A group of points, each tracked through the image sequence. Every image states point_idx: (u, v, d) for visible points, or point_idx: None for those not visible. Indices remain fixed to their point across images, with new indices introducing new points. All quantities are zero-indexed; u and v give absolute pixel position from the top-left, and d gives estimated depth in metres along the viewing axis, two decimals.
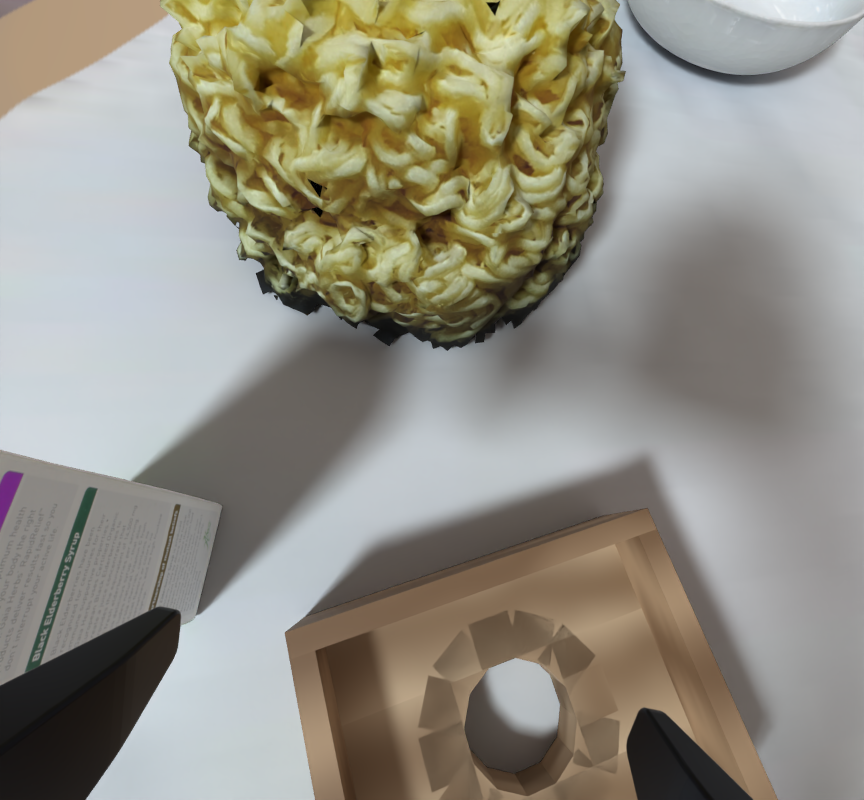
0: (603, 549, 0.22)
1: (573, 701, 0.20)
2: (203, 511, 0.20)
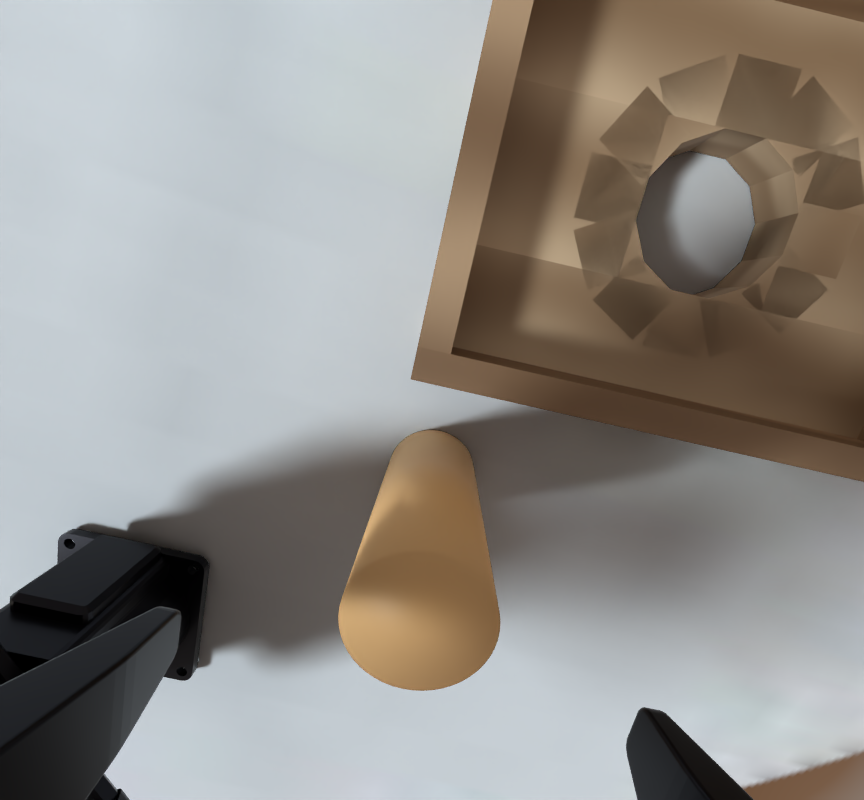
0: None
1: (794, 234, 0.14)
2: None
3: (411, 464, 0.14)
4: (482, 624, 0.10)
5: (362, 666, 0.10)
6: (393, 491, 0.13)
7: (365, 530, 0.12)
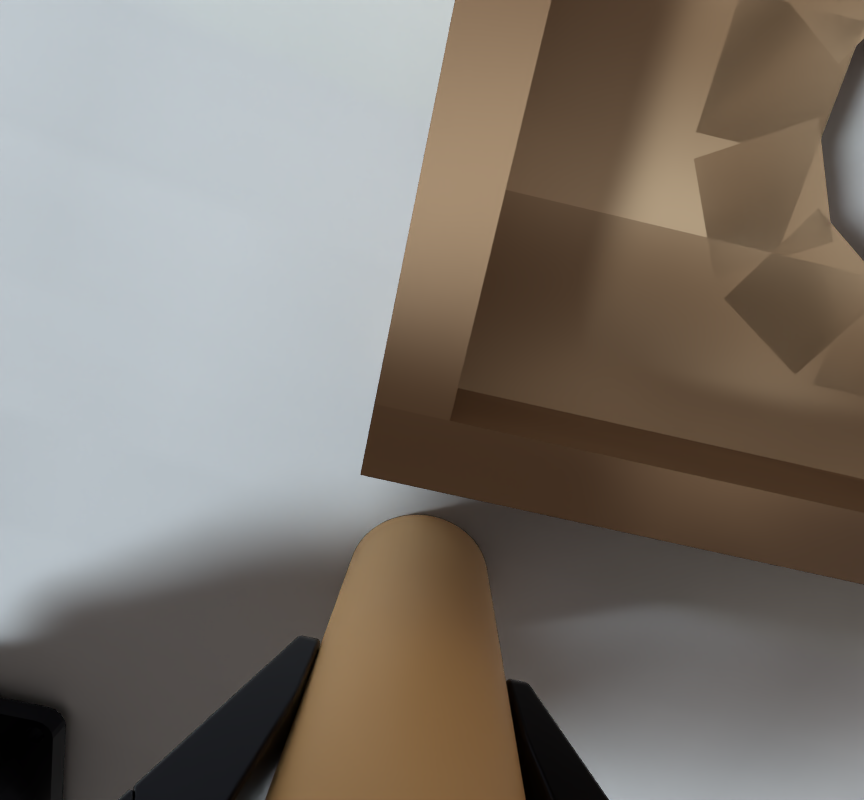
0: None
1: None
2: None
3: (372, 625, 0.07)
4: None
5: None
6: (320, 734, 0.06)
7: None
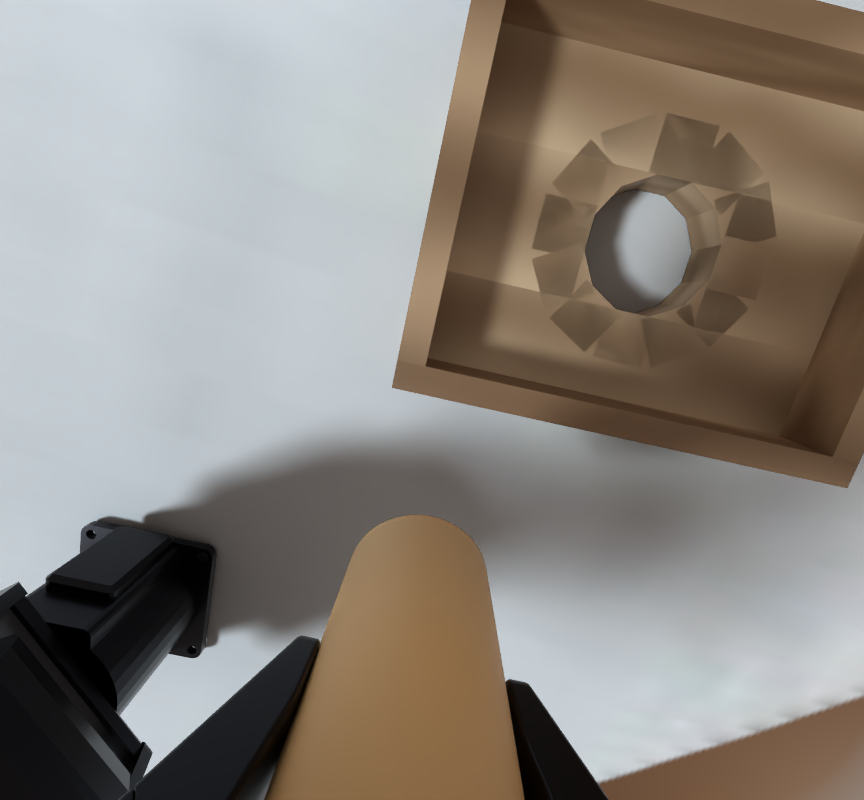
0: None
1: (718, 262, 0.17)
2: None
3: (370, 625, 0.07)
4: None
5: None
6: (319, 732, 0.06)
7: None
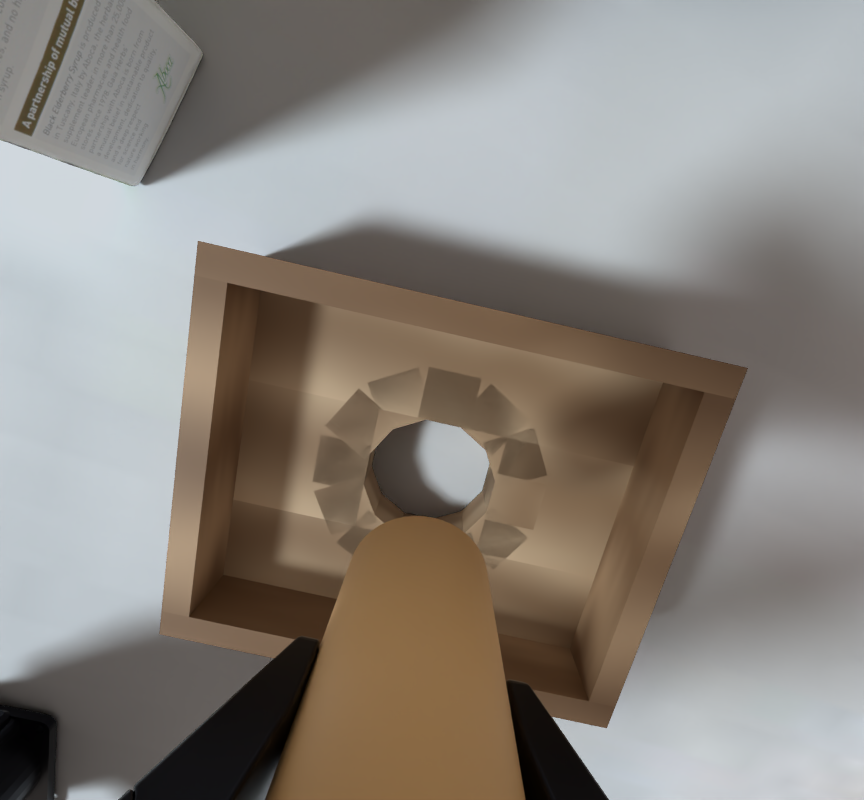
0: (642, 384, 0.16)
1: (494, 497, 0.17)
2: (157, 28, 0.13)
3: (371, 628, 0.07)
4: None
5: None
6: (318, 737, 0.06)
7: None
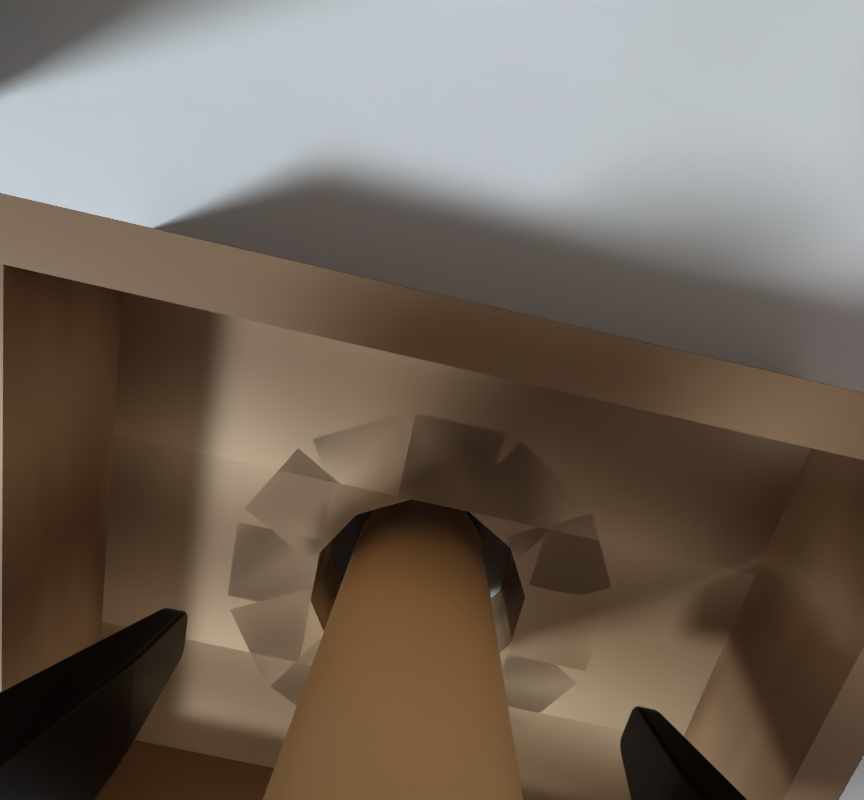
0: (778, 444, 0.09)
1: (522, 621, 0.10)
2: None
3: (380, 581, 0.08)
4: None
5: None
6: (339, 660, 0.07)
7: (281, 749, 0.06)
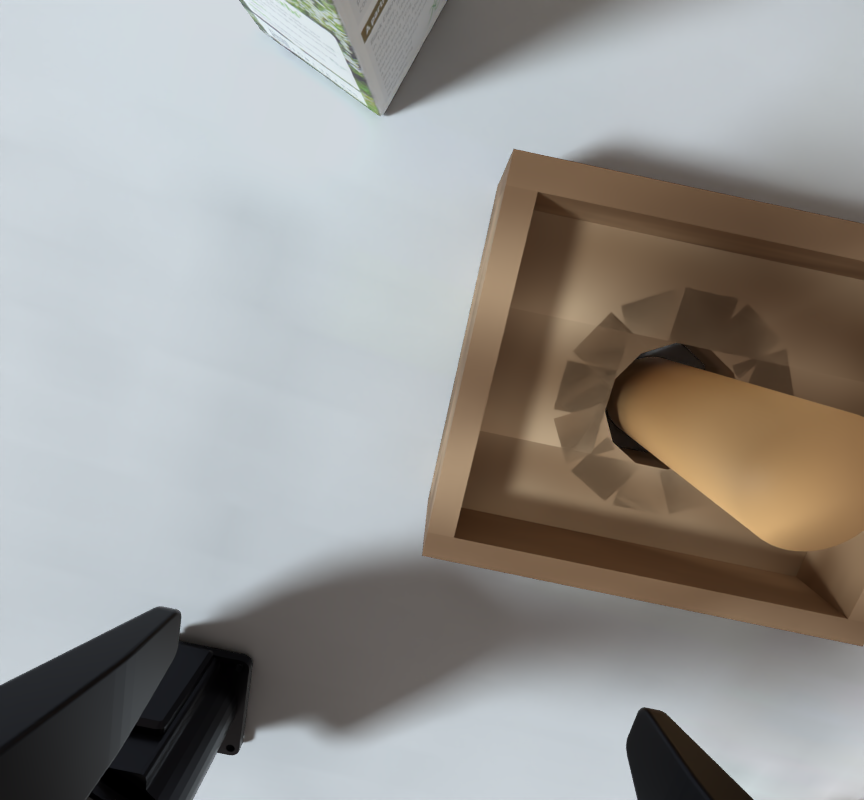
0: None
1: None
2: None
3: (684, 374, 0.15)
4: None
5: (751, 528, 0.11)
6: (699, 389, 0.13)
7: (682, 424, 0.13)
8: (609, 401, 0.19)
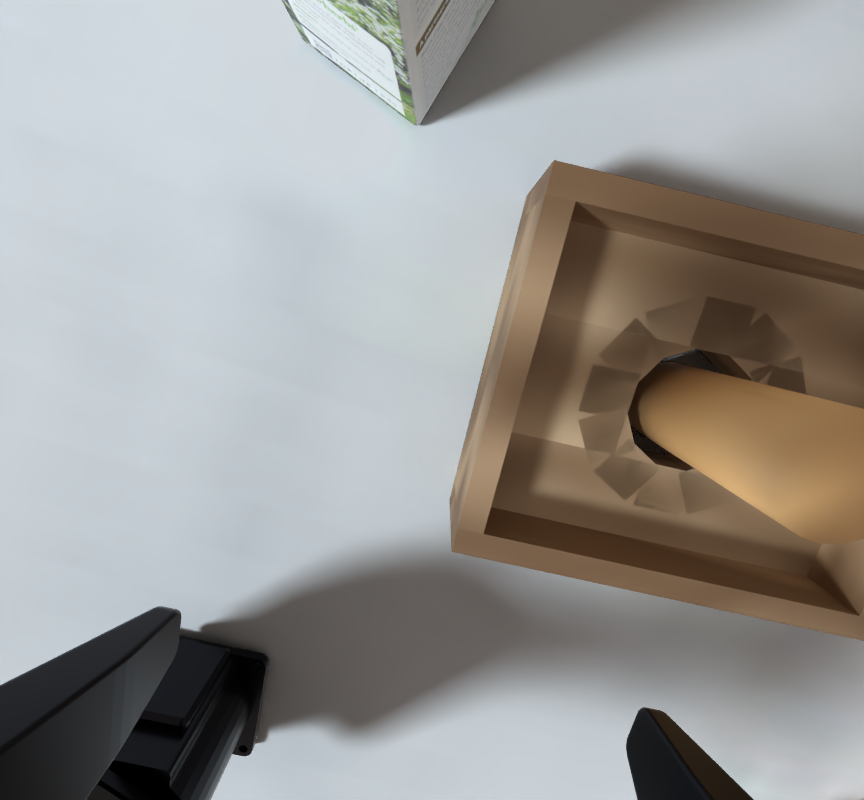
0: None
1: None
2: None
3: (707, 377, 0.16)
4: None
5: (783, 522, 0.11)
6: (725, 392, 0.14)
7: (711, 424, 0.14)
8: None
